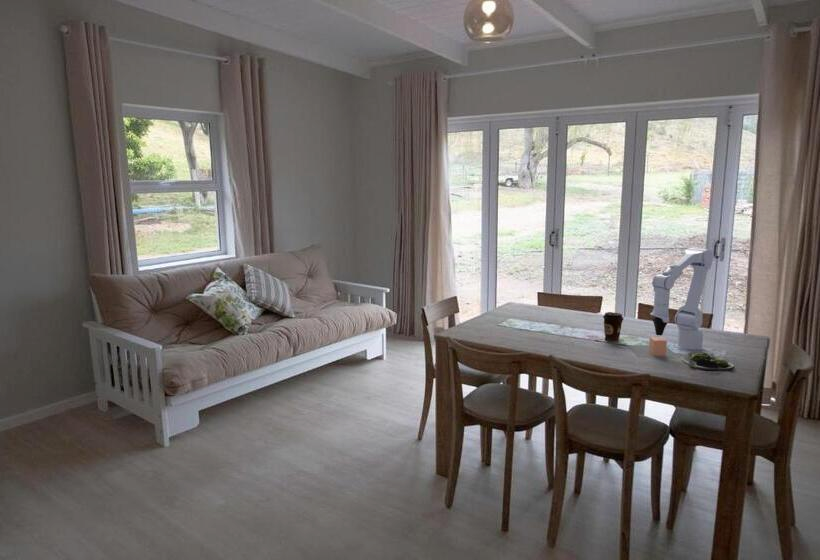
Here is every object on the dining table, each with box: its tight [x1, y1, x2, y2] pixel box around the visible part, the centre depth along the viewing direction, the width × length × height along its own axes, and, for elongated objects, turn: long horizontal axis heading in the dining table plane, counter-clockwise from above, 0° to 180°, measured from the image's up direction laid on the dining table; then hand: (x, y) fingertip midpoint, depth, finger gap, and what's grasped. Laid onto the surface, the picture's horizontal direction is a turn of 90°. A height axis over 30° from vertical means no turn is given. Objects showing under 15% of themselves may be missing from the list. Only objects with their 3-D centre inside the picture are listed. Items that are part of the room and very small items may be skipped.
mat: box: [626, 344, 681, 359], centre depth 238 cm, size 17×17×1 cm
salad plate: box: [681, 352, 735, 372], centre depth 222 cm, size 19×18×5 cm
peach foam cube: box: [648, 336, 668, 356], centre depth 233 cm, size 5×5×7 cm
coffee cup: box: [602, 311, 624, 343], centre depth 254 cm, size 9×8×13 cm
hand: (659, 334), depth 233 cm, fingers closed
